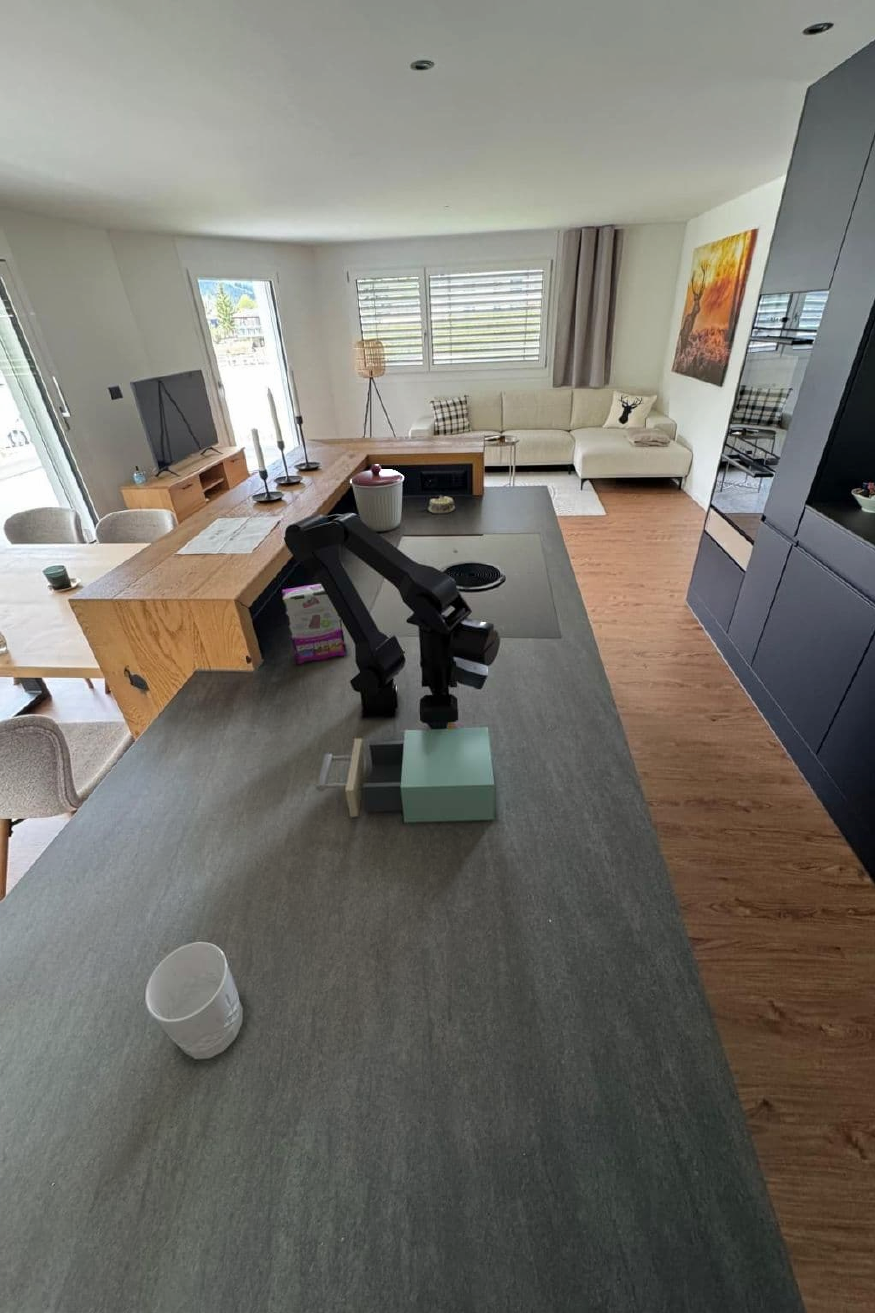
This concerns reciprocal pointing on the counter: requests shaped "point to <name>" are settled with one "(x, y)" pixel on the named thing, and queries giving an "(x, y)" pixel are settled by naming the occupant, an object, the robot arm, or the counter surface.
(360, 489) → the canister
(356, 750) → the drawer
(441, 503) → the cake
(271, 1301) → the counter surface
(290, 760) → the counter surface
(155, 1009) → the white cup
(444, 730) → the pale green block
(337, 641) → the candy bar box
